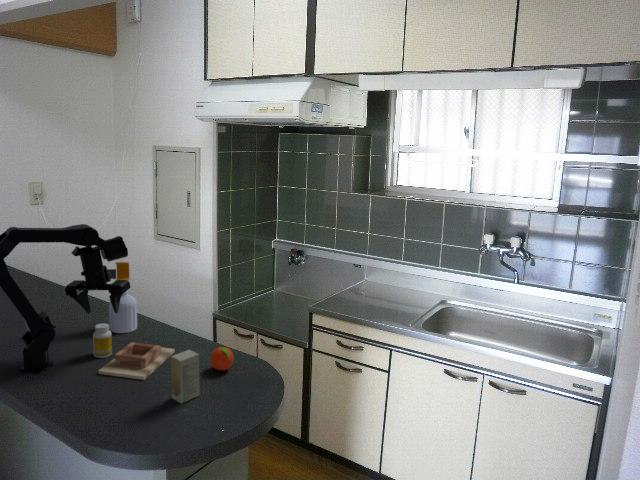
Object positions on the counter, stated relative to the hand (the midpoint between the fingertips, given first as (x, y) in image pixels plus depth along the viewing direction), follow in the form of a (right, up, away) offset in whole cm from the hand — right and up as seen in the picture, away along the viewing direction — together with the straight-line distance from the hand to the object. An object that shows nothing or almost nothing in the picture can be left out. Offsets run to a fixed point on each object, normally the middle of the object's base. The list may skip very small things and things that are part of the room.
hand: (103, 312), depth 162 cm
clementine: (+38, -17, -5) cm, 42 cm away
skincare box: (+31, -20, -22) cm, 43 cm away
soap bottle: (-2, -9, +22) cm, 24 cm away
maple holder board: (+12, -15, -3) cm, 19 cm away
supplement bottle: (0, -13, +1) cm, 13 cm away
